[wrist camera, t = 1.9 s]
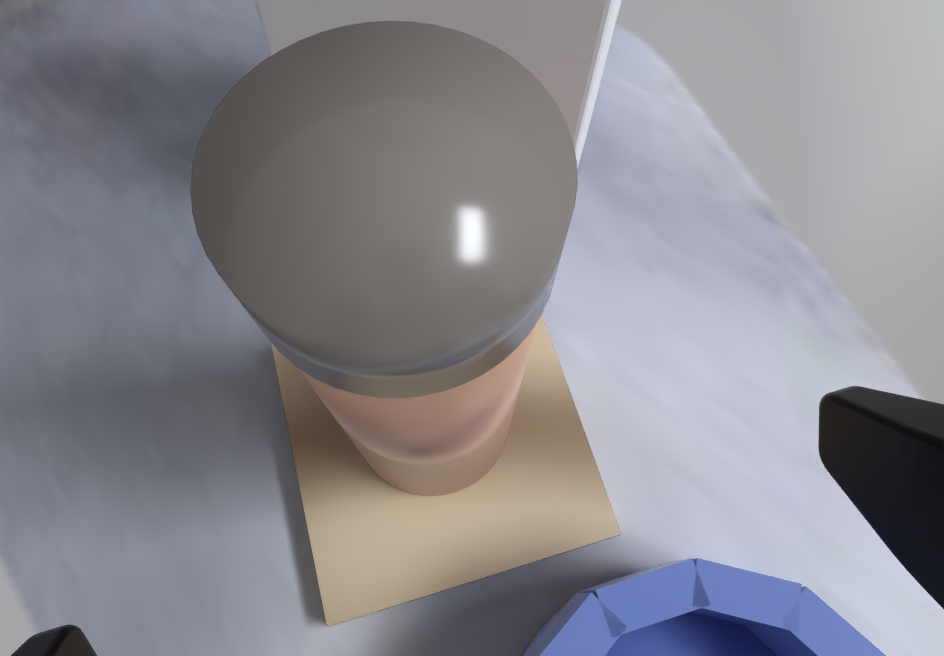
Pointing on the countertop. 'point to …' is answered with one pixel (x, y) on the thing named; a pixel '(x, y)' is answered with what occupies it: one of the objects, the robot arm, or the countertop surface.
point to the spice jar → (394, 233)
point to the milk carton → (483, 37)
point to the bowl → (698, 617)
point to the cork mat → (444, 499)
